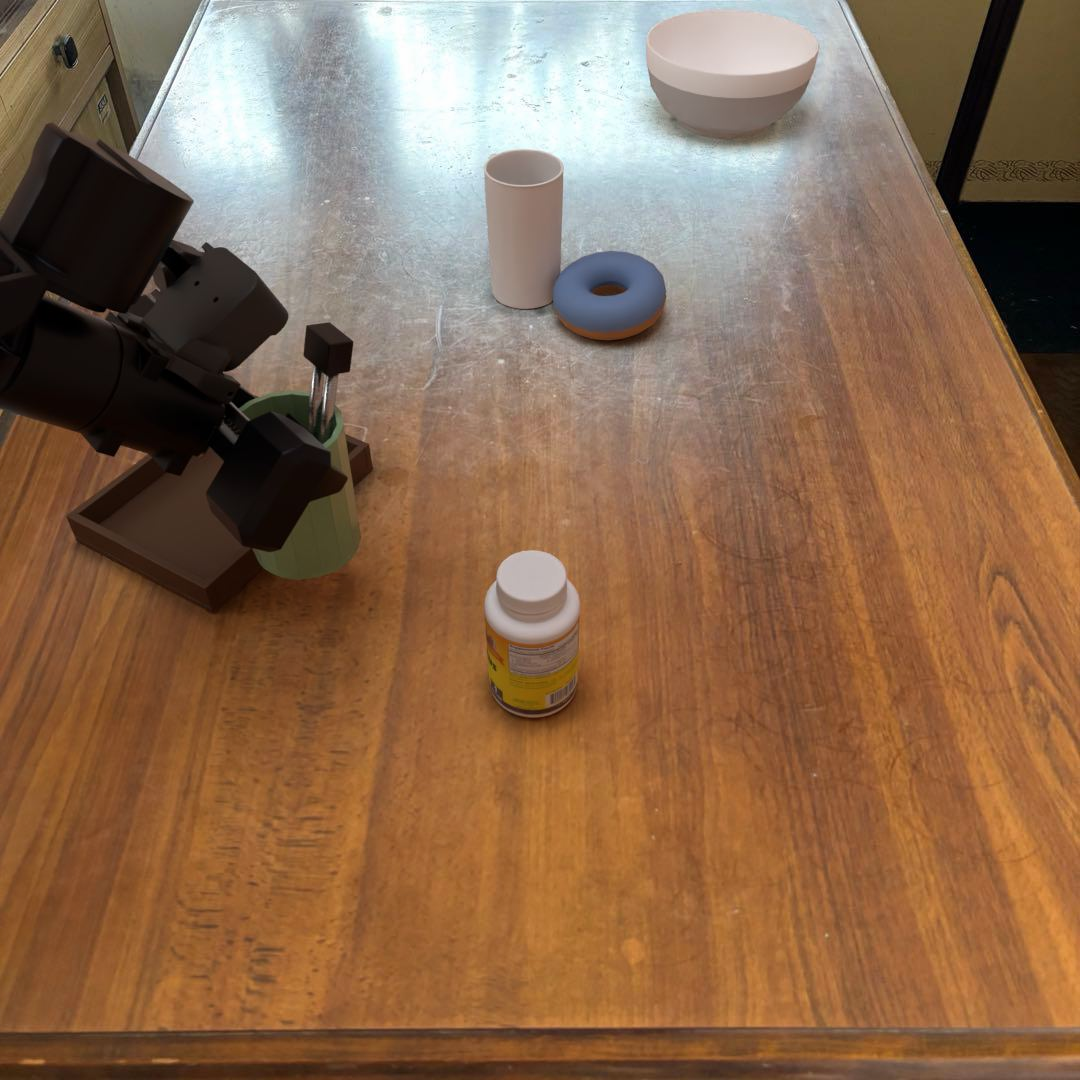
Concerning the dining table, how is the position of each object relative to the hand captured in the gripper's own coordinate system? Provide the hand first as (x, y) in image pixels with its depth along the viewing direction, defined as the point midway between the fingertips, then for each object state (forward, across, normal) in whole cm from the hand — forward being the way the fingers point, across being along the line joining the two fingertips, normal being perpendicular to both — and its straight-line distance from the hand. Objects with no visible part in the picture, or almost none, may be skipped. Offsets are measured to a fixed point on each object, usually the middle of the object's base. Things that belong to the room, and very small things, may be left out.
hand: (311, 453), depth 67 cm
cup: (+4, 0, +6) cm, 7 cm away
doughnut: (+34, +12, -17) cm, 40 cm away
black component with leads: (+5, 0, +4) cm, 6 cm away
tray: (+7, +12, +9) cm, 17 cm away
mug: (+32, +22, -16) cm, 42 cm away
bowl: (+60, +34, -44) cm, 82 cm away
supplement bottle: (+12, -15, +5) cm, 20 cm away
